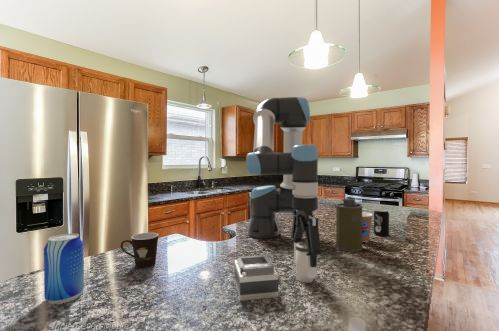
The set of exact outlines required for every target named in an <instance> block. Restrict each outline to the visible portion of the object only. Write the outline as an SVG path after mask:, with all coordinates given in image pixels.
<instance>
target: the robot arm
mask: <svg viewBox="0 0 499 331" xmlns="http://www.w3.org/2000/svg"><path fill="white" fill-rule="evenodd" d="M309 104H310V103H309V101H308V100H307V98H306V97H303V96H302V97H299V96H293V97H291V96H290V97H271V98H268V99H265V100H264V101H262V102H260V104H258V106H257V107H256V109H255V110H254V113H253V118H252V119H253V120H252V121H253V124H254V132H253V133H254V135H253V148H252V149H253V152H249V153H247V154H246V156H245V157H246V158H245V159H246V160H245V162H246V163H245V165H246V166H245V167H246V172H247V174H248V175H254V176H255V175H256V176H266V175H267V176H269V175H270V176H271V175H272V176H273V175H276V176H278V175H279V176H280V175H283V180H282V182H281V183H280V185H279V188H277V187H276V185H263V186H258V187H254V188H253V189H252V190H251V198H250V199H251V219H250V222H249V225H248V227H247V235H248V236H249V237H252V238H256V239H272V238H276V237H278V236H279V235H280V229H279V228H280V227H279V226H278V222H277V218H276V214H280V213H281V214H292V215H293V217H292V226H291V233H290V234H291V235H290V236H291V237H290V238H292V241H293V263H294V264H296V244H298V243H303V242H304V239H303V236H304V237H305V243H307V248H308V253H307V254H306V255H307V278H314V279H315V278H318V256H321V255H322V247H321V238H320V231H319V218H318V217H315V218H314V211H317V210H318V208H319V207H318V206H319V205H318V204H319V203H318V202H319V201H318V197H317V196H318V194H319V182H318V164H319V162H318V161H319V160H318V159H319V155H318V154H319V153H318V147H317V145H315V144H303V132H304V130H305V129H306V128H307V124H310V123H311V122H310V121H311V110H310V105H309ZM274 125H280V129H281V130H282V131H283V152H275V151H274V150H275V148H274V147H275V146H274V145H275V144H274Z"/></svg>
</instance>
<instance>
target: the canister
mask: <svg viewBox="0 0 499 331" xmlns="http://www.w3.org/2000/svg"><path fill="white" fill-rule="evenodd" d="M342 201H343V203H336V204H335V208H336V209H335V213H336V215H335V216H336V217H335V218H336V219H335V227H336V228H335V238H336V239H335V248H337V249H339V250H341V251H344V252H352V253H353V252H354V253H355V252H361V251H362V250H363V249H364V248H363V243H362V212H363V207H364V206H363V205H362V204H360V203H357V202H356V200H355V198H350V197H349V198H343V199H342Z"/></svg>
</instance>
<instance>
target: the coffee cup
mask: <svg viewBox="0 0 499 331" xmlns="http://www.w3.org/2000/svg"><path fill="white" fill-rule="evenodd" d="M373 217H374V213H370V212H367V211H362V242H366V243H368V242H369V240H370V237H371V236H370V234H371V227H372V219H373Z"/></svg>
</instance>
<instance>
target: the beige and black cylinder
mask: <svg viewBox="0 0 499 331" xmlns="http://www.w3.org/2000/svg"><path fill="white" fill-rule="evenodd" d="M307 253H308V248H307V243H306V242H302V243H298V244H296V263H295V279H296V280H297V281H298V282H300V283H304V284H305V283H307V284H308V283H312V282H313V281H314V279H315V278H307V255H306V254H307Z"/></svg>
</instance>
